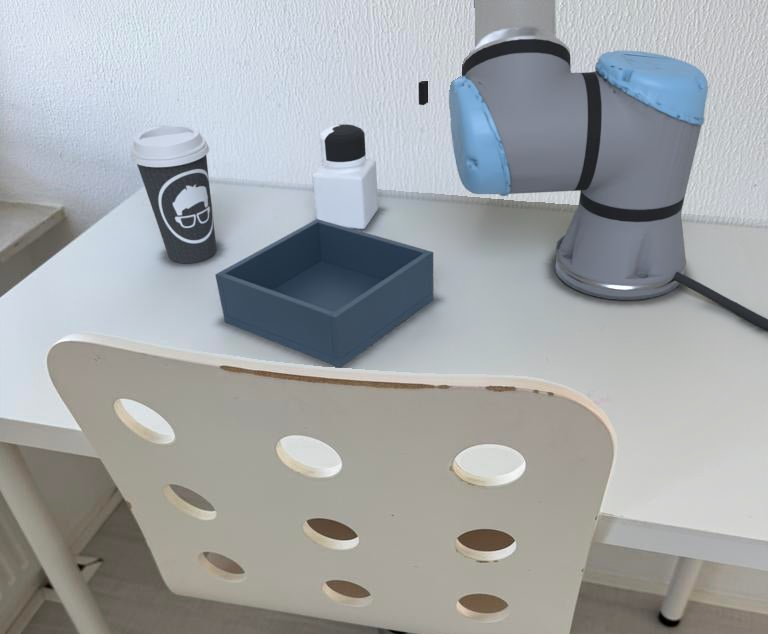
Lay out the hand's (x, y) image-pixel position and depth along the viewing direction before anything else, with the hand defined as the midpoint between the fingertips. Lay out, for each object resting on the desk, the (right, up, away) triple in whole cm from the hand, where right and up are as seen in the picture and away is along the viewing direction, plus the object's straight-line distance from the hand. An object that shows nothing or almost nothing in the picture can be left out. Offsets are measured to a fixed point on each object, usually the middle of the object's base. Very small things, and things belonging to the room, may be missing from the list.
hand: (377, 88), depth 106 cm
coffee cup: (-25, -24, -2) cm, 34 cm away
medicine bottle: (-4, -17, +4) cm, 18 cm away
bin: (-5, -35, -15) cm, 38 cm away
